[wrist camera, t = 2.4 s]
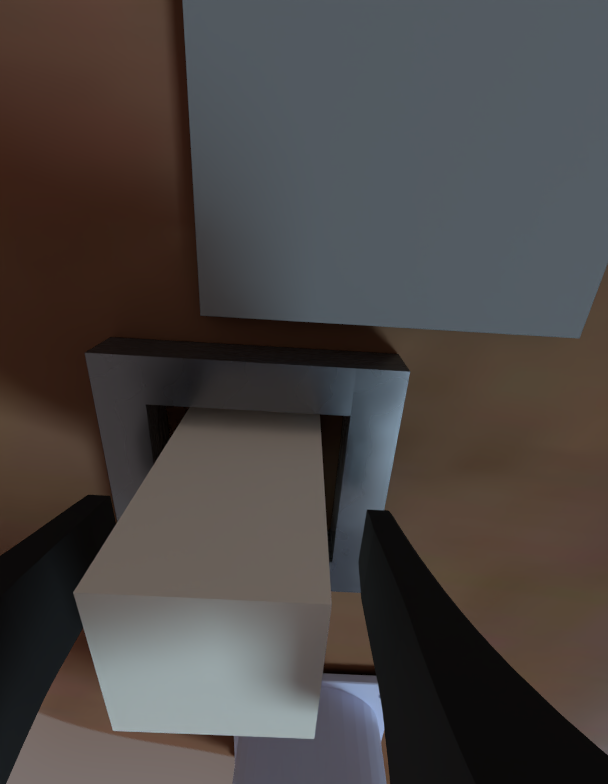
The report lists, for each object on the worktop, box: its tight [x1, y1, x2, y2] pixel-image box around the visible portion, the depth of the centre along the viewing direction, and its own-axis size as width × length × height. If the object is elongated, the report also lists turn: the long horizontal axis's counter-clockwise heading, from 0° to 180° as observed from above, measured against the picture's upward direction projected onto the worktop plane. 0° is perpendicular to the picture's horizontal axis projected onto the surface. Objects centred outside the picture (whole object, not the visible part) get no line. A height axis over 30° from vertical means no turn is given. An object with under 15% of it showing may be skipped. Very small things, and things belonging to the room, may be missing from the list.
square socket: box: [85, 337, 410, 593], centre depth 13 cm, size 9×9×2 cm
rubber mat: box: [182, 0, 608, 338], centre depth 9 cm, size 11×11×1 cm
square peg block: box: [73, 407, 332, 739], centre depth 11 cm, size 4×4×7 cm
